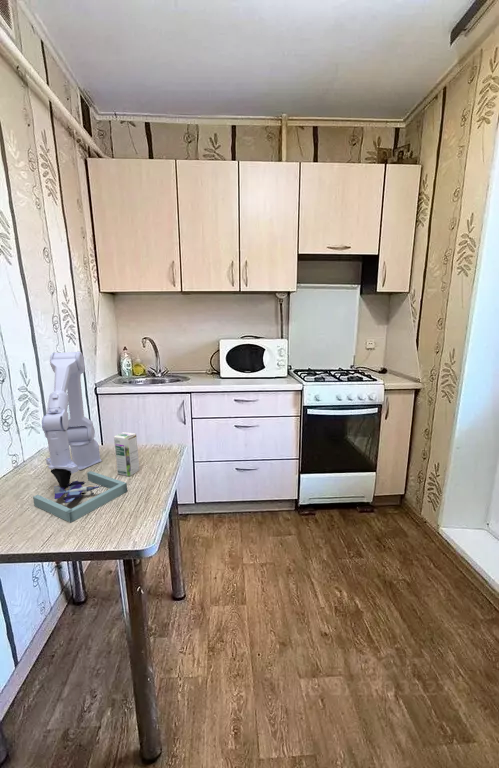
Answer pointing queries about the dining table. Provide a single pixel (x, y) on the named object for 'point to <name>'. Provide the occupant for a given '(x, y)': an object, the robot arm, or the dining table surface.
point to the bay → (88, 506)
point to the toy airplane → (73, 491)
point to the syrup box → (126, 453)
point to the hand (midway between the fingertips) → (65, 488)
